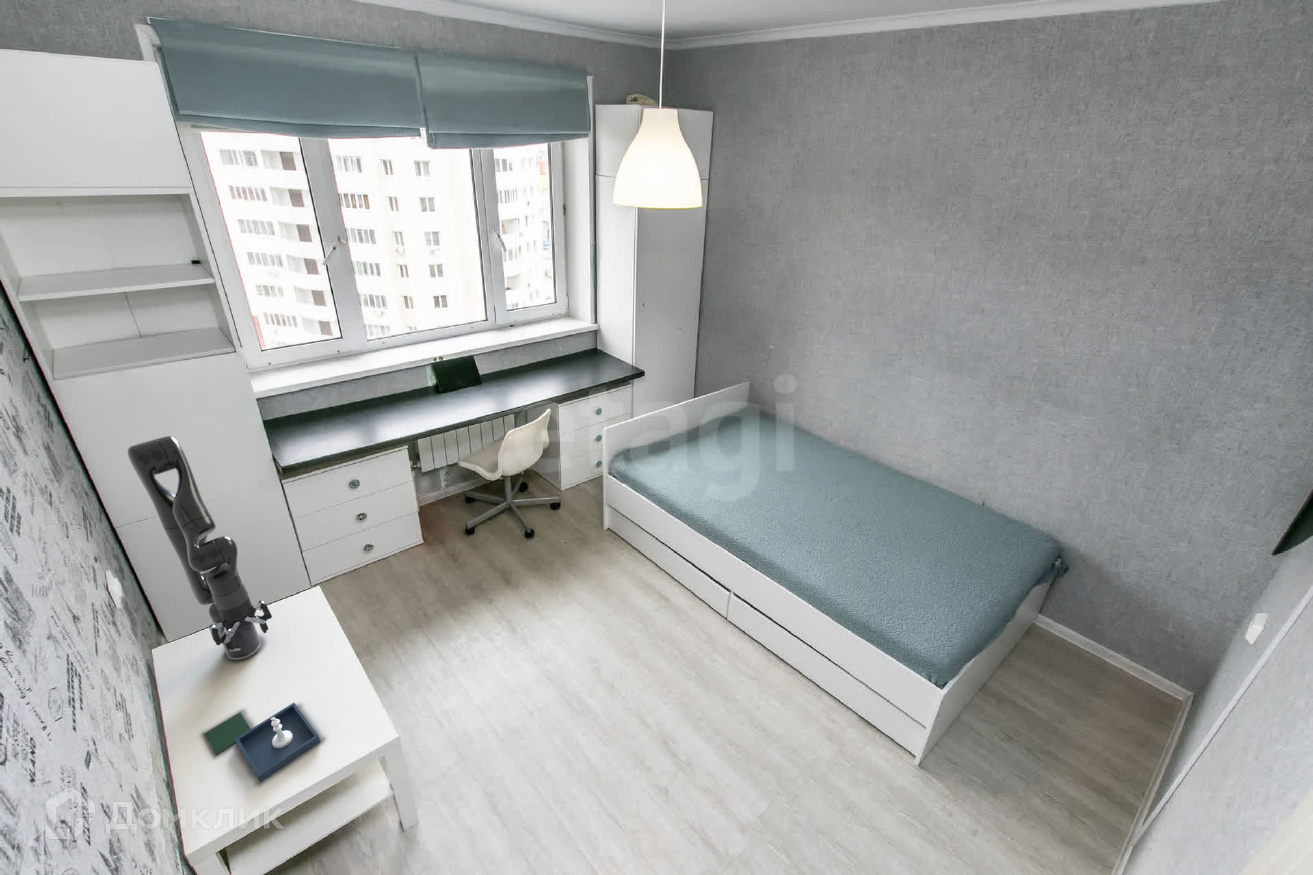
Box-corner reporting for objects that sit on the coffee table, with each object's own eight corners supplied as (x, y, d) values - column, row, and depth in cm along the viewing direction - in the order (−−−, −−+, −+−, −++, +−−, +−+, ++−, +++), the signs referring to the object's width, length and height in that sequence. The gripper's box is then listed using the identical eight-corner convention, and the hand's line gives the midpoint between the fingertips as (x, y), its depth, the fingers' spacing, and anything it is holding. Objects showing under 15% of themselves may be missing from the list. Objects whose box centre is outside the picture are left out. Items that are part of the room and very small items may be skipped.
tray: (236, 744, 164) (234, 739, 163) (296, 707, 175) (294, 702, 174) (259, 782, 156) (257, 777, 155) (320, 741, 167) (318, 735, 166)
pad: (204, 734, 166) (203, 733, 166) (240, 712, 172) (239, 712, 172) (216, 755, 161) (216, 754, 161) (252, 732, 168) (252, 731, 167)
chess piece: (283, 749, 164) (274, 727, 159) (268, 745, 164) (258, 723, 159) (296, 733, 168) (288, 711, 163) (281, 729, 169) (272, 707, 164)
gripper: (254, 579, 172) (269, 619, 180) (197, 606, 162) (215, 647, 170) (265, 592, 168) (280, 632, 176) (206, 620, 158) (225, 661, 166)
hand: (248, 639), depth 173 cm, fingers open, 8 cm apart
